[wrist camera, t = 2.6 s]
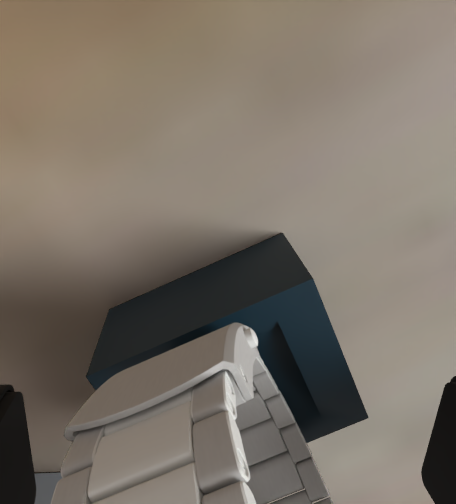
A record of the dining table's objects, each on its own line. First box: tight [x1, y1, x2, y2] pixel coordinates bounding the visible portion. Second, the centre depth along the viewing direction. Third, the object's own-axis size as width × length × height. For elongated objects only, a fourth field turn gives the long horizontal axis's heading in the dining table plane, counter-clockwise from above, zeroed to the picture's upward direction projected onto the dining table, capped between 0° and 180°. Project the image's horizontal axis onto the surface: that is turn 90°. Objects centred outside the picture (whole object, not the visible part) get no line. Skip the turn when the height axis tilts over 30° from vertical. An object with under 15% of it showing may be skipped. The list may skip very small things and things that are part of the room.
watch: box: [51, 233, 368, 504], centre depth 8 cm, size 6×8×11 cm
